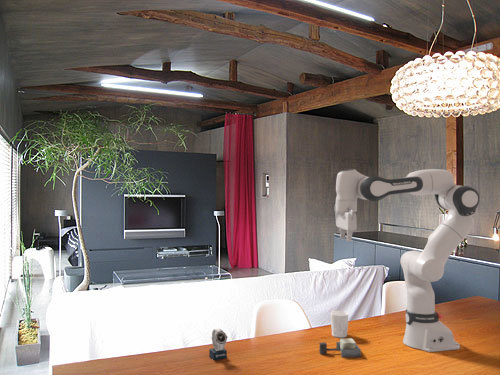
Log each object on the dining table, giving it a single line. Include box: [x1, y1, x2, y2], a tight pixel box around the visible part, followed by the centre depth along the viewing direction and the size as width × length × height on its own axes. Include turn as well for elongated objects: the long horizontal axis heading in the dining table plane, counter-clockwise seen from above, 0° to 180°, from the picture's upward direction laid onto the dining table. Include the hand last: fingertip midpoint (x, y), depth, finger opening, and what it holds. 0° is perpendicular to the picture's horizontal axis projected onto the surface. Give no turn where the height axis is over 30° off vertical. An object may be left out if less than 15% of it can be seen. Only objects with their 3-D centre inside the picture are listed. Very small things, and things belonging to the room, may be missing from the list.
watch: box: [208, 328, 228, 361], centre depth 169 cm, size 6×8×11 cm
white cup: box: [330, 310, 349, 339], centre depth 195 cm, size 8×8×10 cm
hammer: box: [319, 338, 357, 355], centre depth 174 cm, size 14×5×5 cm, turn 93°
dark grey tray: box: [335, 341, 362, 358], centre depth 174 cm, size 8×9×3 cm
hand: (345, 239), depth 183 cm, fingers open, 8 cm apart
